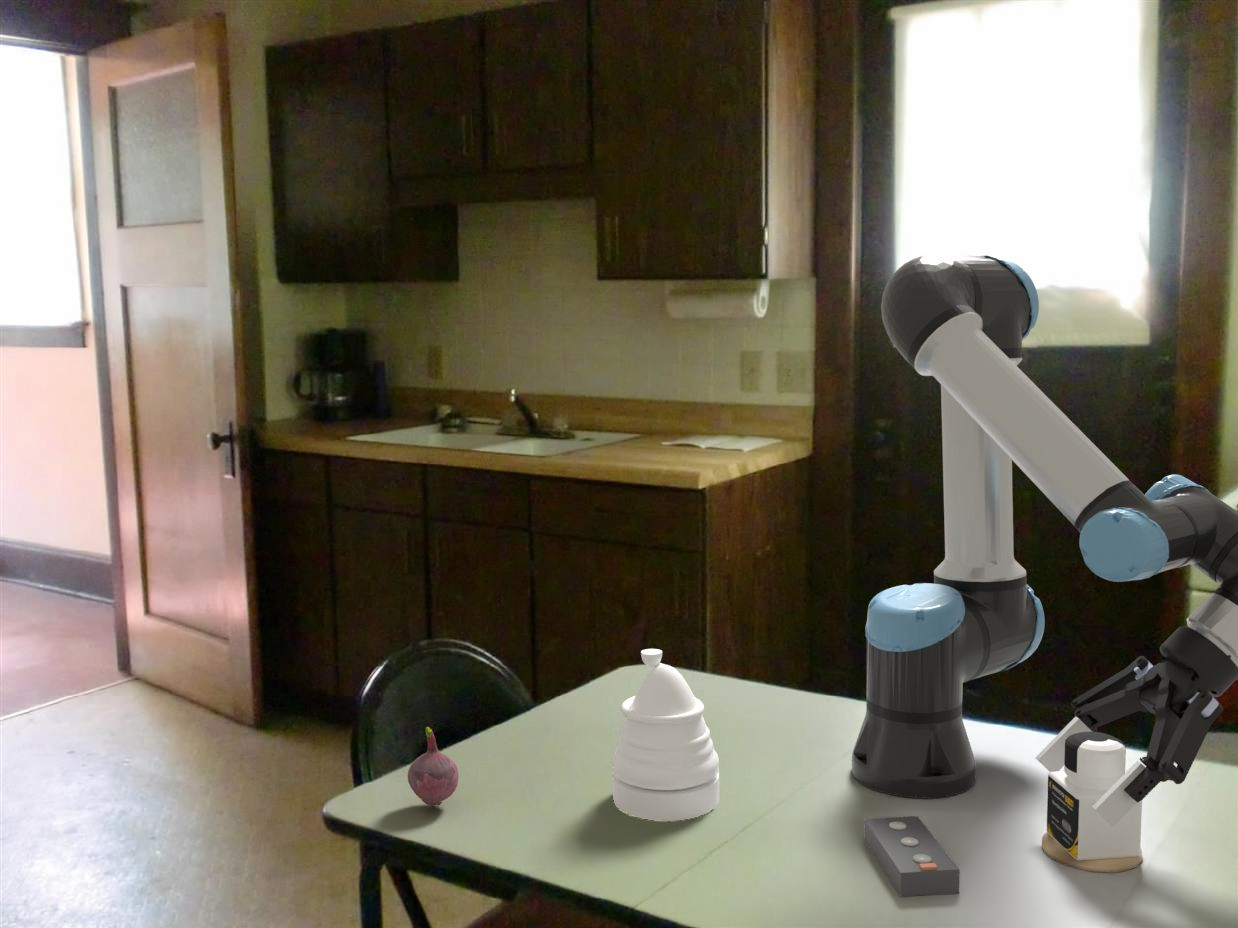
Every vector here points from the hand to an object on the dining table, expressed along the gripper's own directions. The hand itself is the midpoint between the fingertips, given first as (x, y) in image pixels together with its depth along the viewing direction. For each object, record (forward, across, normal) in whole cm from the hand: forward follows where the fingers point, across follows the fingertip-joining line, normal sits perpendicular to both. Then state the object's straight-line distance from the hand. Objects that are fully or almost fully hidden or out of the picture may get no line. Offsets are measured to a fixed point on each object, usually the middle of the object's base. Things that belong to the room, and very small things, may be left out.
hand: (1071, 790), depth 128 cm
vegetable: (+54, +21, +44) cm, 72 cm away
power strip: (+18, -1, +8) cm, 19 cm away
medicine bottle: (+3, 0, -6) cm, 7 cm away
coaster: (+3, 0, -6) cm, 7 cm away
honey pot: (+34, +20, +24) cm, 46 cm away
